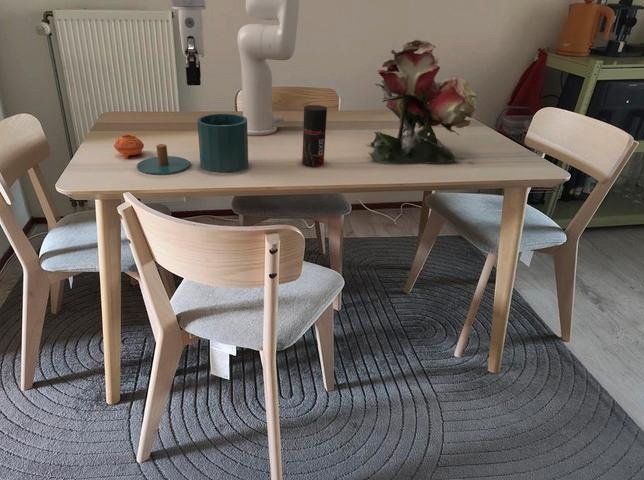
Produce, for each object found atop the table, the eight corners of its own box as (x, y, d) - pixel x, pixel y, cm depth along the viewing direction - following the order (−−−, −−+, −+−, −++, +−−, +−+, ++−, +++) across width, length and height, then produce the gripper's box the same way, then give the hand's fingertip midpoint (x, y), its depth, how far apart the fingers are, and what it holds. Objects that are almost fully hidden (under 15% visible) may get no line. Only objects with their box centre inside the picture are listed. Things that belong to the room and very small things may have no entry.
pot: (107, 157, 137) (107, 132, 135) (130, 157, 144) (130, 133, 142) (127, 162, 133) (127, 136, 131) (149, 161, 140) (150, 136, 138)
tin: (246, 158, 139) (245, 113, 133) (249, 174, 129) (248, 125, 122) (201, 159, 138) (198, 113, 132) (200, 175, 127) (196, 126, 121)
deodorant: (317, 168, 133) (320, 111, 125) (298, 164, 136) (299, 108, 128) (327, 162, 137) (331, 107, 130) (308, 158, 140) (311, 104, 132)
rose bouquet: (476, 164, 138) (502, 46, 123) (372, 165, 136) (386, 45, 121) (444, 137, 160) (462, 35, 145) (354, 138, 158) (364, 34, 143)
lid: (191, 159, 138) (189, 137, 135) (188, 176, 127) (186, 153, 123) (141, 160, 137) (138, 138, 134) (134, 177, 125) (130, 154, 122)
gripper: (205, 3, 106) (210, 88, 114) (205, 0, 120) (209, 75, 129) (169, 3, 105) (177, 88, 113) (173, 0, 119) (179, 75, 128)
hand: (194, 81), depth 121 cm, fingers open, 9 cm apart
